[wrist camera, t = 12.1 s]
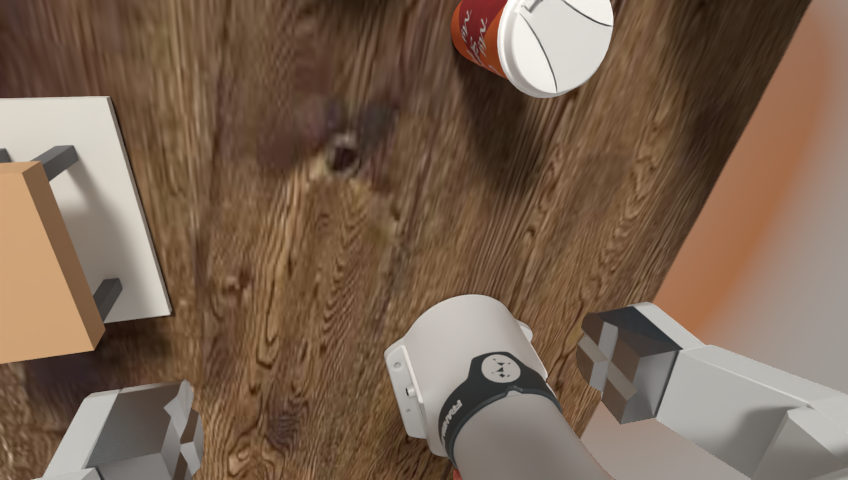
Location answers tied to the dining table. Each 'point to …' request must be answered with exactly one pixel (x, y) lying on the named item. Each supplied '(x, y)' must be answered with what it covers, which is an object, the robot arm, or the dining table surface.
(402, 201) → the dining table surface
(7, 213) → the bench model
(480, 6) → the paper cup
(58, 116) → the felt mat
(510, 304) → the dining table surface
